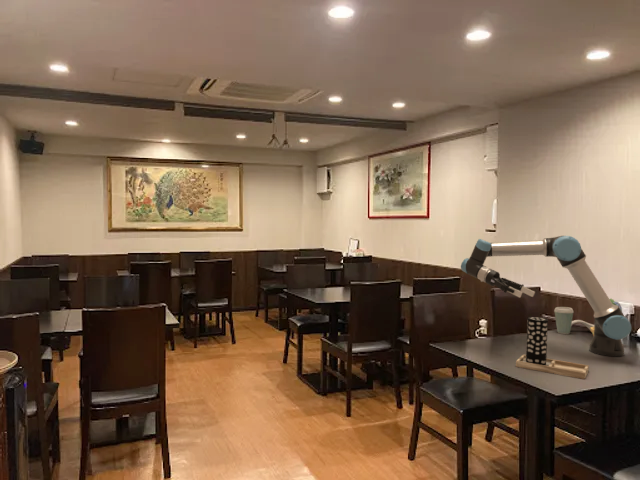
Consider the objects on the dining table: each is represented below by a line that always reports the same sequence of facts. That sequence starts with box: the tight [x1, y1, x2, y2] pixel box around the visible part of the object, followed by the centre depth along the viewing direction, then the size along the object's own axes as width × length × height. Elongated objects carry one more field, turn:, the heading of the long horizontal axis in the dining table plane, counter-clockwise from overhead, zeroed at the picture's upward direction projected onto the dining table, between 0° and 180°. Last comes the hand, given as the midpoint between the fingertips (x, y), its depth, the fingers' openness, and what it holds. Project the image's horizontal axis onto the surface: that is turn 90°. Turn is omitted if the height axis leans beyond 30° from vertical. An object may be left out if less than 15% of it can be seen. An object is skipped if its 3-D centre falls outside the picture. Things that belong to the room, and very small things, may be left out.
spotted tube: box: [525, 316, 549, 365], centre depth 214 cm, size 8×8×20 cm
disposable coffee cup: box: [553, 306, 575, 335], centre depth 283 cm, size 11×11×15 cm
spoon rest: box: [571, 319, 594, 332], centre depth 287 cm, size 24×12×7 cm, turn 81°
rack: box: [515, 354, 590, 380], centre depth 210 cm, size 14×27×2 cm, turn 55°
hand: (527, 294), depth 227 cm, fingers open, 13 cm apart
